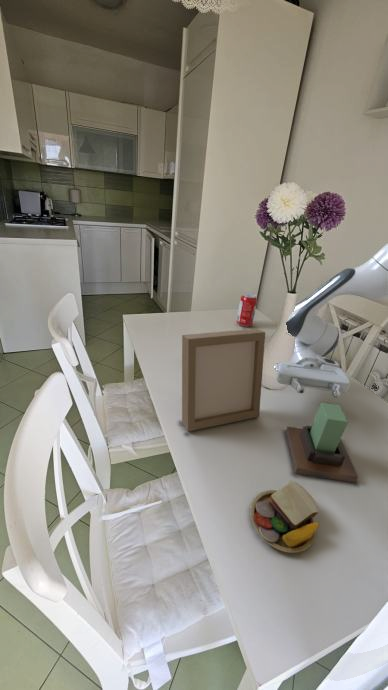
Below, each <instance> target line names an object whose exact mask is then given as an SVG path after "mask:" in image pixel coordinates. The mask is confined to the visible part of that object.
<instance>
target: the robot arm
mask: <svg viewBox="0 0 388 690" xmlns="http://www.w3.org/2000/svg"><path fill="white" fill-rule="evenodd" d="M343 295H350V296H357V297H362V298H366V299H371V300H372V299H373V300H375V299H376V300H377V299H383V298H388V242H387V243H386V244H384V246H382V247H381V248H380V249H378V251H377V252H376V253H375V254H374V255H373V256H372V257H370V258H369V260H367V261H366V262H364V263H362V264H361V265H358V266H356V267H353V268H345V269H342V270H341V271H339V272H338V273H336V274H335V275H334V276H332V277H330V279H328V280H326V282H324V283H323V284H322V285H320V286H319V287H318V288H316V289H315V290H314V291H313V292H312V293H310V294H309V295H308V296H306V297H305V298H304V299H302V300H301V301H300V302H298V303H296V304H295V305H296V306H295V309H294V312H292V314H291V315H290V316H289V318H288V320H287V322H286V325H287V330H288V333H290V334H291V335H292V336H291V335H290V336H291V337H293V336H294V337H295V338H296V339H295V348H294V354H293V355H292V357H291V361H289V362H287V361H280V362H278V363H274V365H273V368H274V370H275V371H276V382H277V383H278V384H280V385H285V386H291V387H292V388H293V389H294V390H296V392H297V393H298V394H304V392H305V388H309V389H315V390H324V391H329V392H330V391H331V393H330V396H331V398H335V399H339V398H340V395H341V393H344V394H345V393H347V392H348V390H349V389H350V386H351V383H352V382H351V379H350V378H349V376H348V374H347V373H346V372H345V371H344V369H342V368H341V367H339V366H340V364H339V362H338V361H336V360H332V359H329V358H326V356H328V355H329V354H330V353H332V352H333V351H334V350H335V348H336V347H337V345H338V343H339V340H340V331H339V328H338V327H337V326H335V325H334V324H333V323H331V322H330V321H328V320H327V319H324V318H323V317H322V316H320V315H319V314H317V313H315V312H317V311H318V310H319V309H320V308H322V307H324V306H325V305H326V304H327V303H329V302H330V301H331V300H333V299H335V298H336V297H339V296H343Z"/></svg>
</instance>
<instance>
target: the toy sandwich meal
mask: <svg viewBox="0 0 388 690" xmlns="http://www.w3.org/2000/svg"><path fill="white" fill-rule="evenodd" d="M319 509H320V508H319V506H318V504H317V502H316V500H315V499H314V497H313V496H312V495H311V494H310V493H309V492H308V491H307V490H306V489H305V487H303V486H302V485H301V484H300V483H297V482H296V481H293V480H290V481H289V482H288V484H287V485H285V486H283V487H281V488H280V489H278V490H275V489H273V490H265V491H262V492H260V493H259V494H257V495H256V496H255V497H254V499H253V500H252V502H251V505H250V512H249V514H250V519H251V522H252V526H253V527H254V529H255V531H256V533H257V534H258V535H259V536H260V538H261V539H262V540H263V541H264V542H266V543H267V544H268V545H269V546H270V547H272V548H274V549H276V550H278V551H281V552H283V553H289V554H294V553H296V554H297V553H301V552H303V551H306V550H307V549H308V548H310V547H311V545H312V544H313V542H314V540H315V537H316V531H317V530H318V529H319V527H320V524H319V523H318V521H315V522H314V518H315V517H316V516H317V515H318V513H319Z"/></svg>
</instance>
